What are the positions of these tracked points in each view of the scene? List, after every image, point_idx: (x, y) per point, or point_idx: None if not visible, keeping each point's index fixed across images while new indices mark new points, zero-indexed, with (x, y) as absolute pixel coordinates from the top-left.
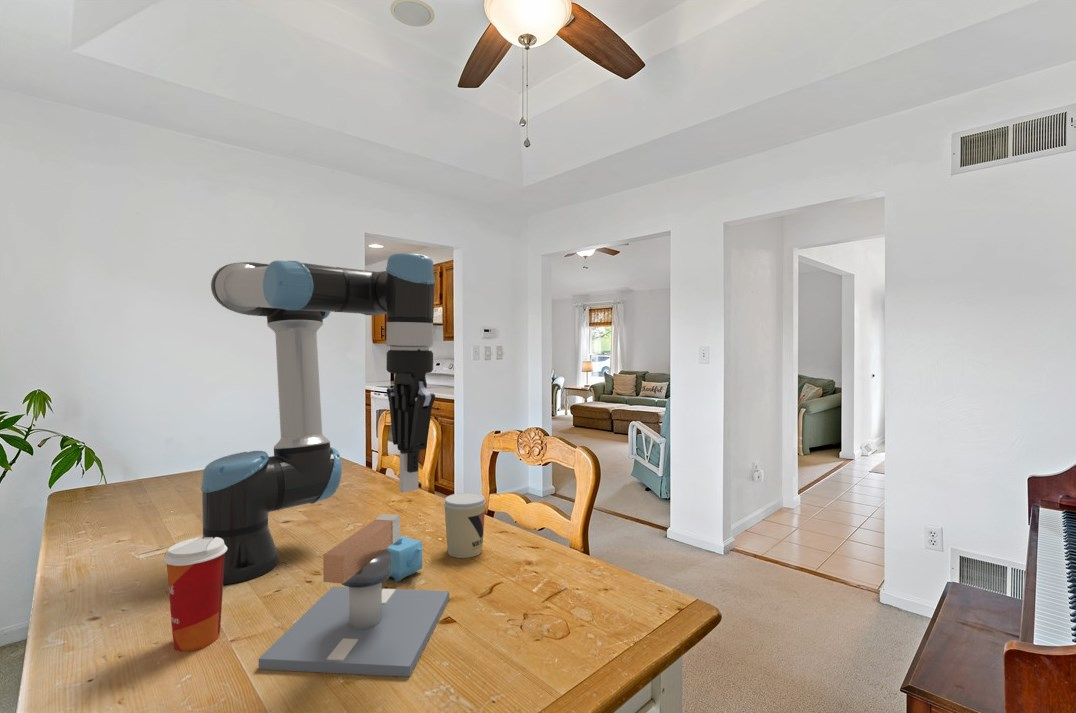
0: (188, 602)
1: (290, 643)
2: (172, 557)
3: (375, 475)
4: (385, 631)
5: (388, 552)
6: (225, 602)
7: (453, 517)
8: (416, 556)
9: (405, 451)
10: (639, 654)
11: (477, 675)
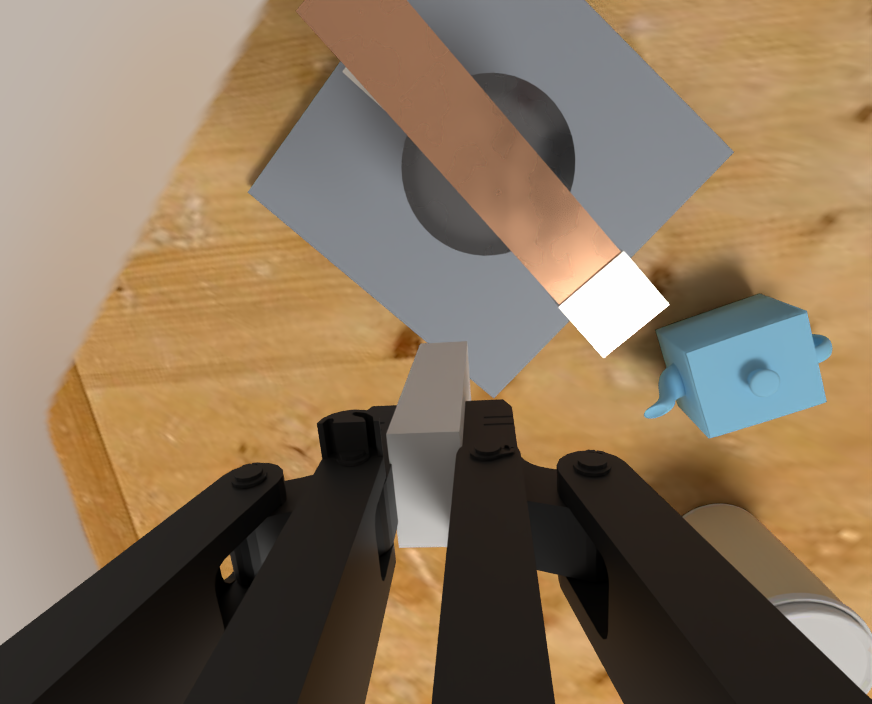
0: None
1: None
2: None
3: None
4: (406, 197)
5: (481, 250)
6: None
7: (749, 580)
8: (659, 393)
9: (324, 436)
10: (118, 549)
11: (197, 301)
